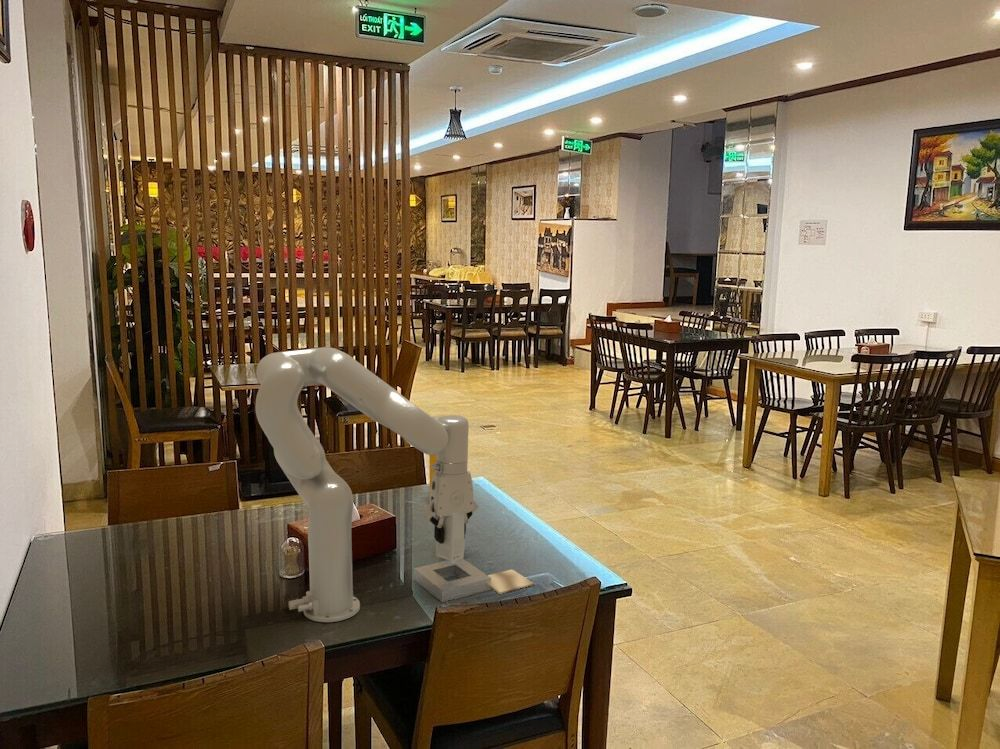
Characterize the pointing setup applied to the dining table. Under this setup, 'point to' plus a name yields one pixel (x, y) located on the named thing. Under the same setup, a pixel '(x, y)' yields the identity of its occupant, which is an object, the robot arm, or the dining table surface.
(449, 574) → the white rectangular frame
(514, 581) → the wooden coaster
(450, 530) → the skincare box
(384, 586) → the dining table surface
